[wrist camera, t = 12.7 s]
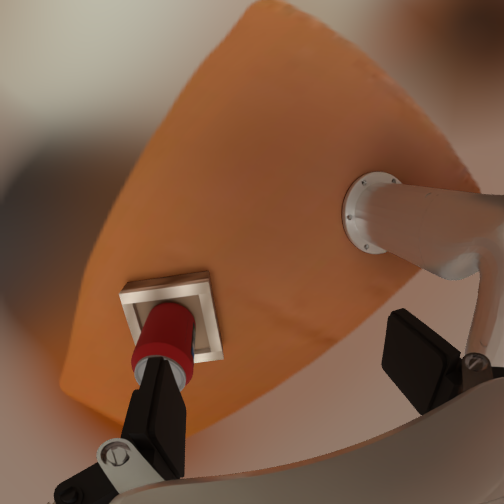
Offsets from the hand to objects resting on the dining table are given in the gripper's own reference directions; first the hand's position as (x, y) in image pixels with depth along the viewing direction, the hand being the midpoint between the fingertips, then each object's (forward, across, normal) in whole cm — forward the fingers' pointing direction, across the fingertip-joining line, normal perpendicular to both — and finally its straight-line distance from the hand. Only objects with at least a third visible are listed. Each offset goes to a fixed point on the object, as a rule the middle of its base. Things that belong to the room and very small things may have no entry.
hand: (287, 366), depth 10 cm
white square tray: (+28, +10, +11) cm, 32 cm away
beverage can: (+25, +10, +10) cm, 29 cm away
